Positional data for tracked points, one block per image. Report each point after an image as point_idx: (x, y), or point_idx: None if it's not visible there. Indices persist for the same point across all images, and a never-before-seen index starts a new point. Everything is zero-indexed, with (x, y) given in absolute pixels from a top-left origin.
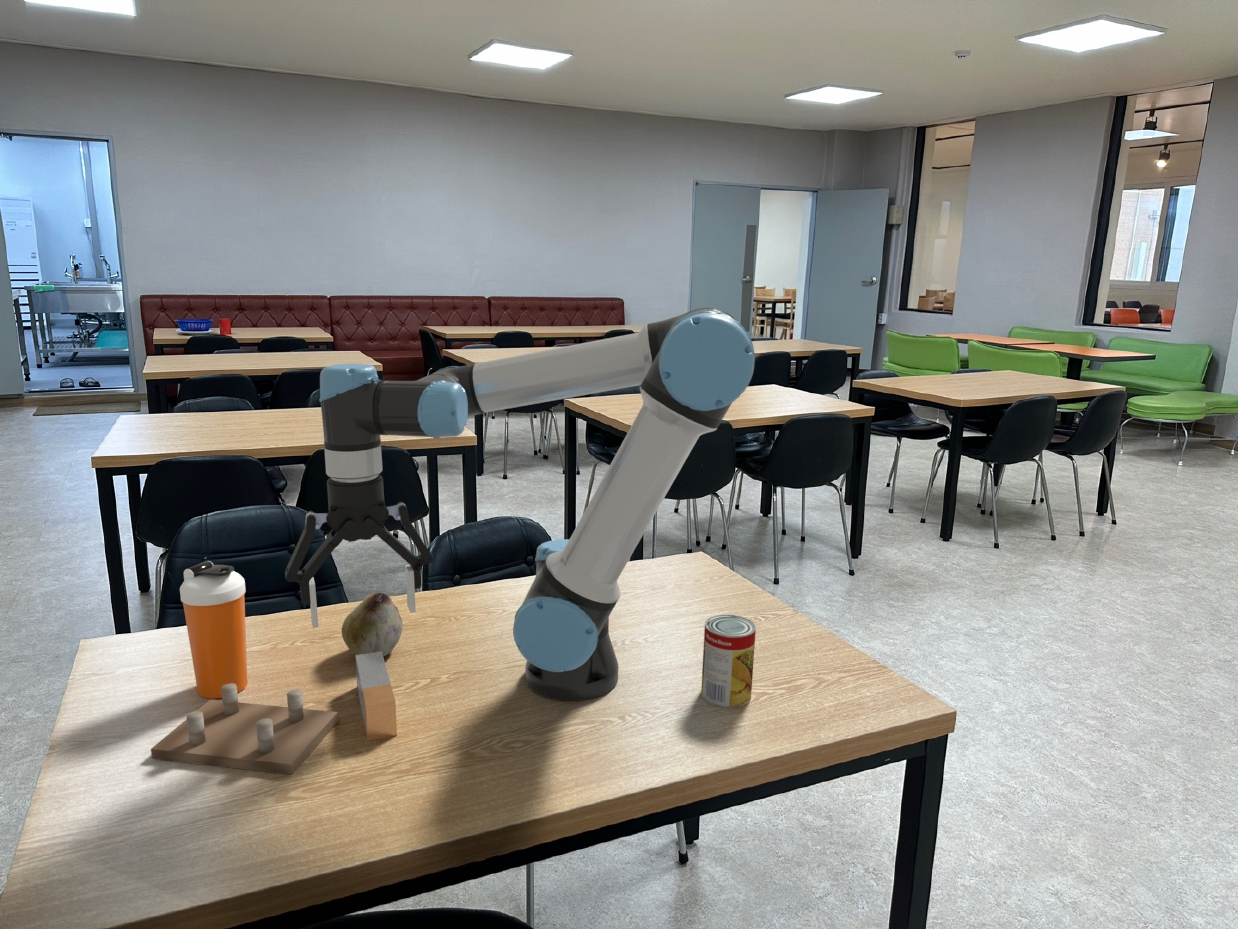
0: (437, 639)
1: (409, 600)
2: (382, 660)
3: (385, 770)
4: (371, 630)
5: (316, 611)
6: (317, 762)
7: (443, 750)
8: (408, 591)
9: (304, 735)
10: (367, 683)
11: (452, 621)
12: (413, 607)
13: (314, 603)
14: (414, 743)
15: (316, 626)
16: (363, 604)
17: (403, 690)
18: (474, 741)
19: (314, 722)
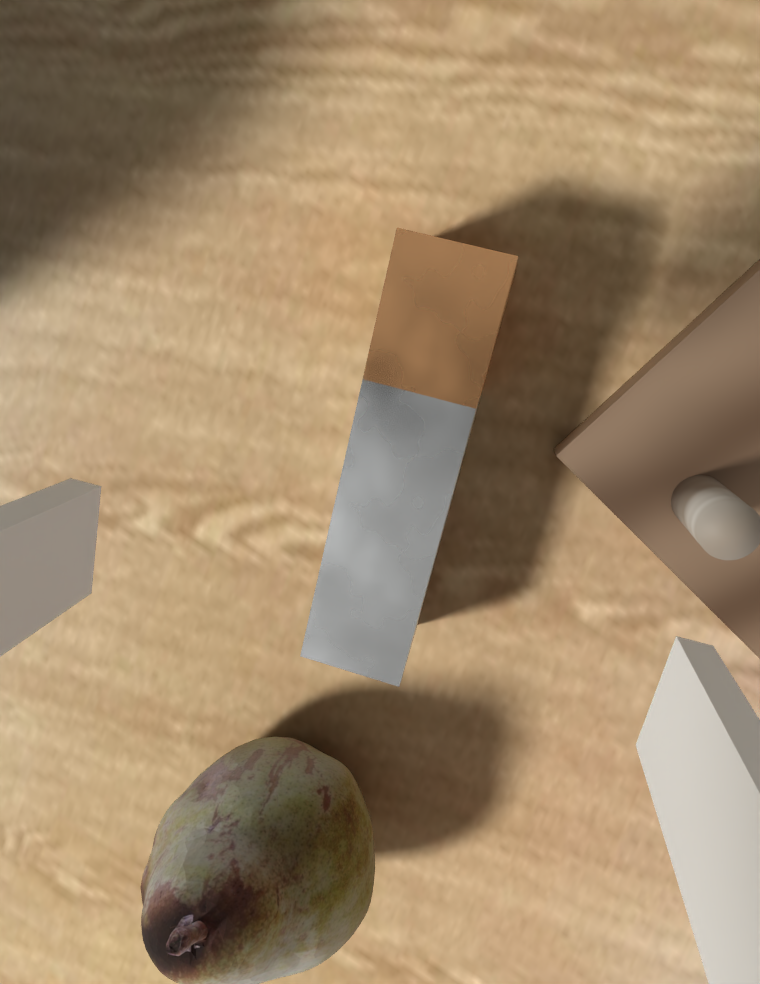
0: (92, 753)
1: (50, 529)
2: (323, 585)
3: (538, 35)
4: (283, 807)
5: (715, 701)
6: (718, 228)
7: (317, 52)
8: (7, 575)
9: (722, 366)
10: (442, 437)
11: (15, 827)
12: (61, 489)
13: (751, 746)
14: (385, 157)
15: (690, 643)
16: (259, 945)
17: (294, 516)
18: (205, 50)
19: (655, 434)
